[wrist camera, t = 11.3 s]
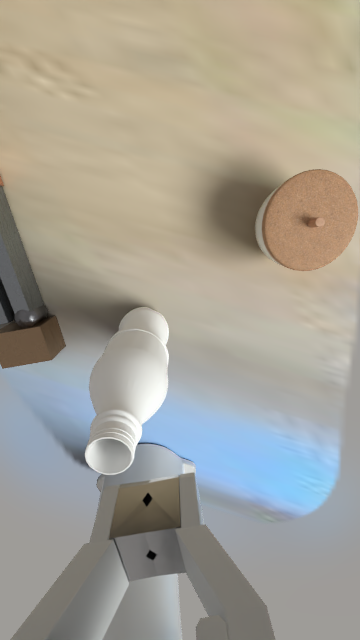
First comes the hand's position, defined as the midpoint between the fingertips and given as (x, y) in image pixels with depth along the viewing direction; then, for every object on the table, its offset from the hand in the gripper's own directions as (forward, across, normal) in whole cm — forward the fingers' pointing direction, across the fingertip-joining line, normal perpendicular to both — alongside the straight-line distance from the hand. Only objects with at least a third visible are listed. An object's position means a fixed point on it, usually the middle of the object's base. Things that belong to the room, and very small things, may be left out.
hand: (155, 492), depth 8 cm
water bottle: (+31, +4, +4) cm, 32 cm away
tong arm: (+31, +19, -10) cm, 38 cm away
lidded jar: (+31, -18, -7) cm, 37 cm away
